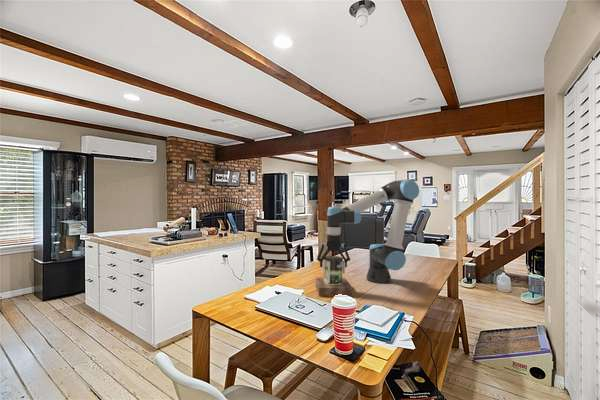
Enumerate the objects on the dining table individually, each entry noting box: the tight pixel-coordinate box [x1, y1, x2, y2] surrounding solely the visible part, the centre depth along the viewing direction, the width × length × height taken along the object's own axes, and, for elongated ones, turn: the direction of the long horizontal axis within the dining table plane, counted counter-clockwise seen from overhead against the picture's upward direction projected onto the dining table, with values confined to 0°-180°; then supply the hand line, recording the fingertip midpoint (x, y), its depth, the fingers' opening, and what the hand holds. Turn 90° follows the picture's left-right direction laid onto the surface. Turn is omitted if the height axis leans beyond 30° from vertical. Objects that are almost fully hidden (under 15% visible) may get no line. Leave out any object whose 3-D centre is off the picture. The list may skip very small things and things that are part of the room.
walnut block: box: [314, 277, 353, 297], centre depth 158 cm, size 18×18×4 cm
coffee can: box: [323, 255, 344, 285], centre depth 158 cm, size 10×10×14 cm
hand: (333, 273), depth 158 cm, fingers open, 11 cm apart
